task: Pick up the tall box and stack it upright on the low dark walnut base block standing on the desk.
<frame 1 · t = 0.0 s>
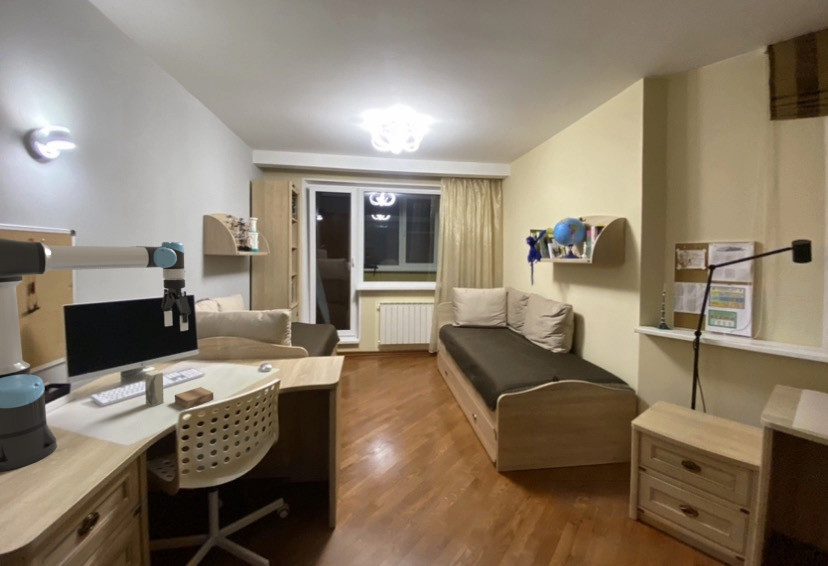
hand: (176, 328, 150), 28 cm above the table, fingers open, 13 cm apart
base: (194, 400, 144), on the table
box: (155, 403, 141), on the table
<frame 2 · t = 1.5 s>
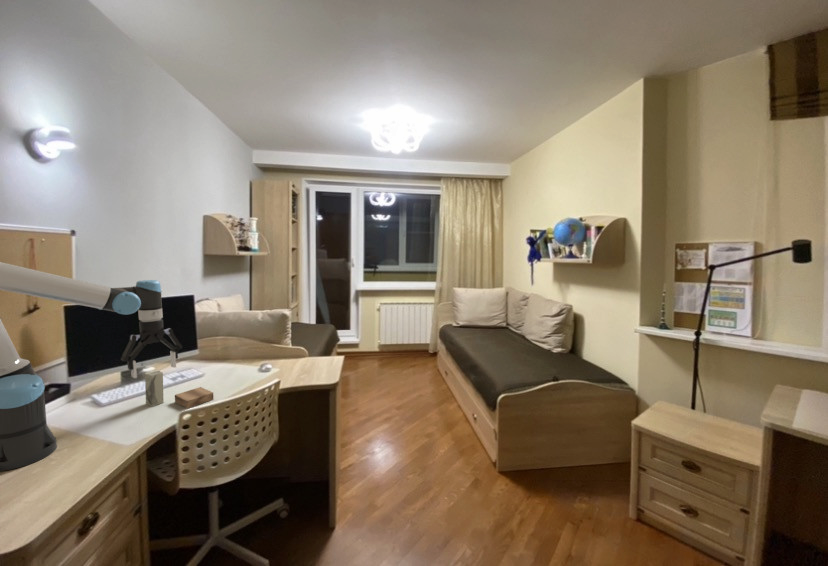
hand: (154, 371, 140), 13 cm above the table, fingers open, 13 cm apart
nothing on the table moved.
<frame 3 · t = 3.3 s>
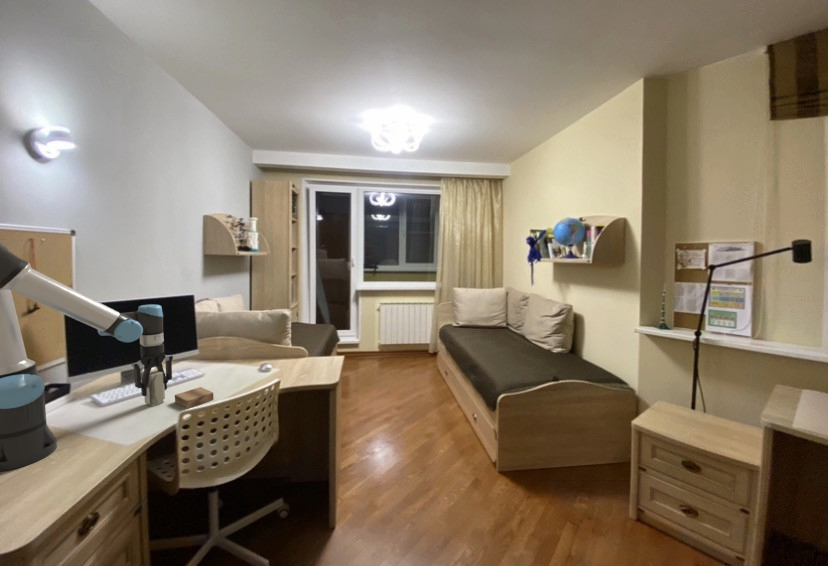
hand: (155, 400, 141), 1 cm above the table, fingers closed on box, 4 cm apart
box: (155, 403, 141), on the table, touching gripper
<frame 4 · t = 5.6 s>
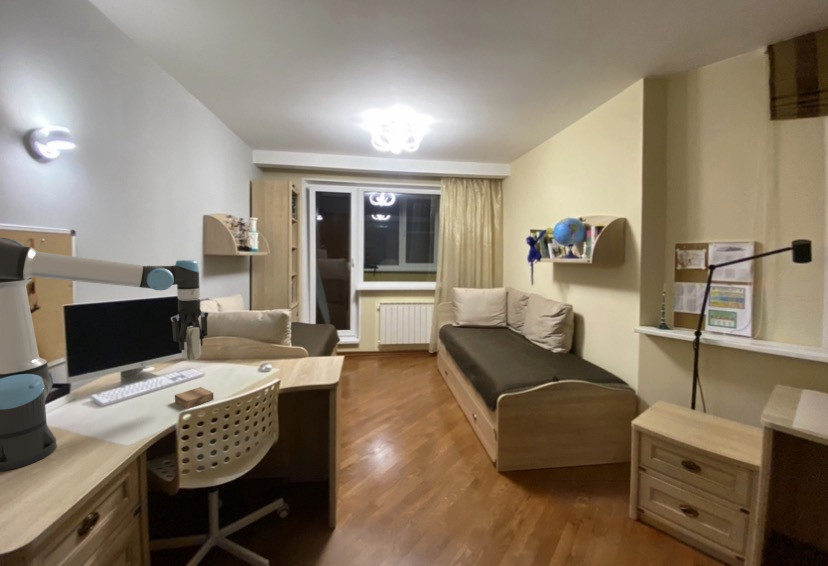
hand: (191, 355, 142), 19 cm above the table, fingers closed on box, 4 cm apart
box: (191, 359, 142), point 18 cm above the table, touching gripper
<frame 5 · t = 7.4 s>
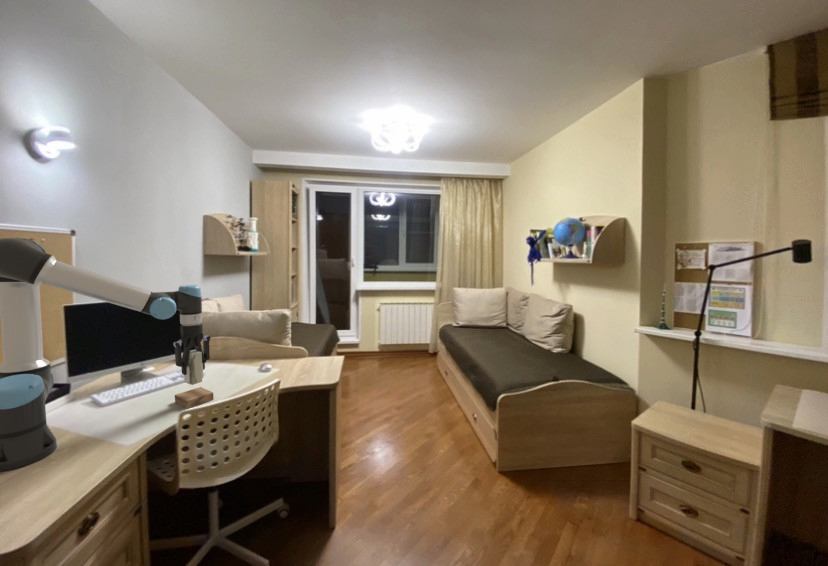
hand: (194, 379, 143), 9 cm above the table, fingers closed on box, 4 cm apart
box: (194, 382, 143), point 8 cm above the table, touching gripper
when the fingers open (5 cm above the table, at t = 8.4 s): box stays where it is, resting on base.
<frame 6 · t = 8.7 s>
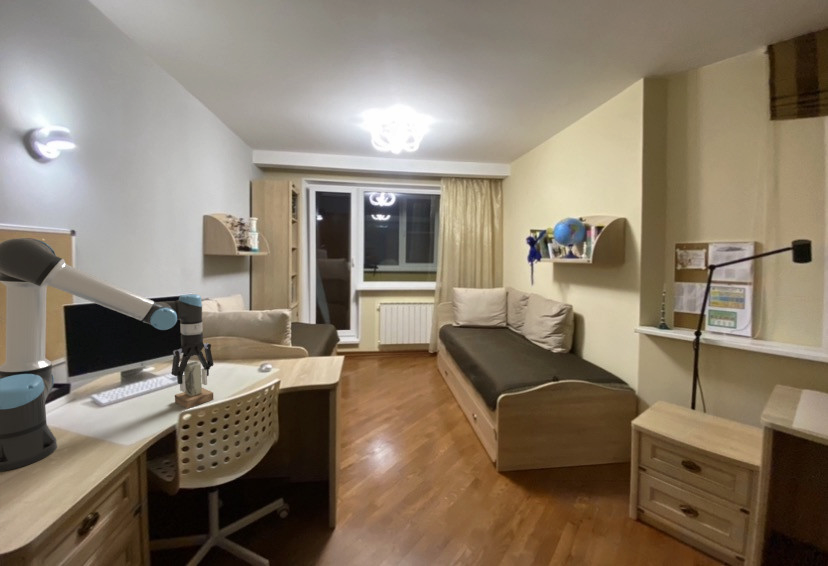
hand: (193, 387, 143), 6 cm above the table, fingers open, 8 cm apart
box: (194, 393, 144), point 3 cm above the table, touching base
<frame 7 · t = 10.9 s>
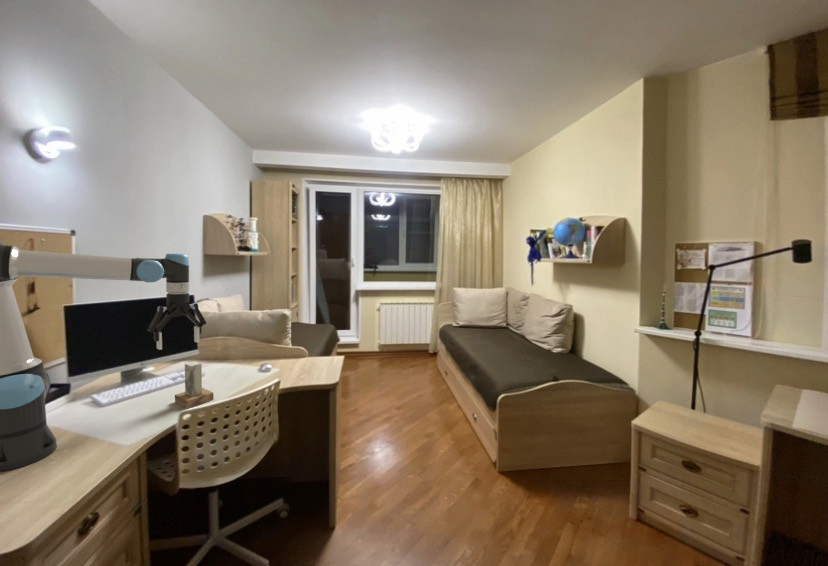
hand: (178, 345, 140), 24 cm above the table, fingers open, 13 cm apart
nothing on the table moved.
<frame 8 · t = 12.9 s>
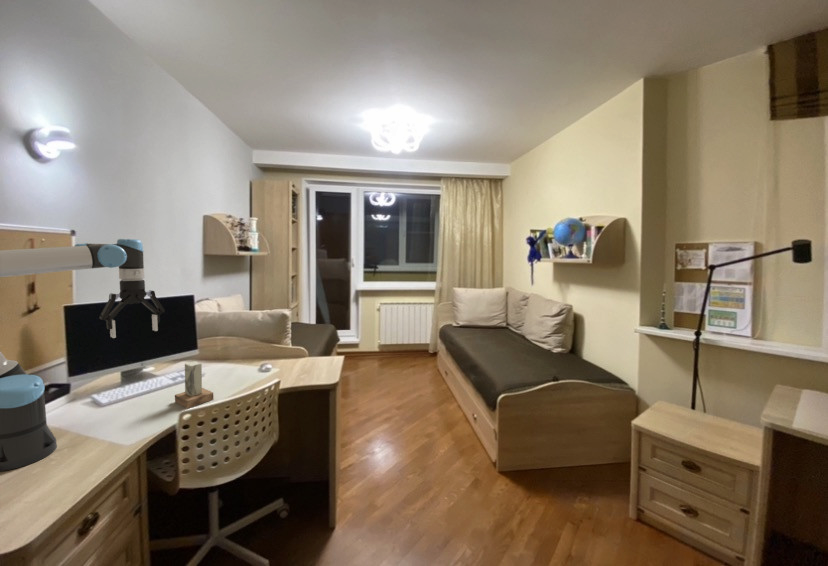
hand: (135, 333, 136), 29 cm above the table, fingers open, 13 cm apart
nothing on the table moved.
at the end: box 0.1 cm from the base (horizontally); box touching base; box tilted 0° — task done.
